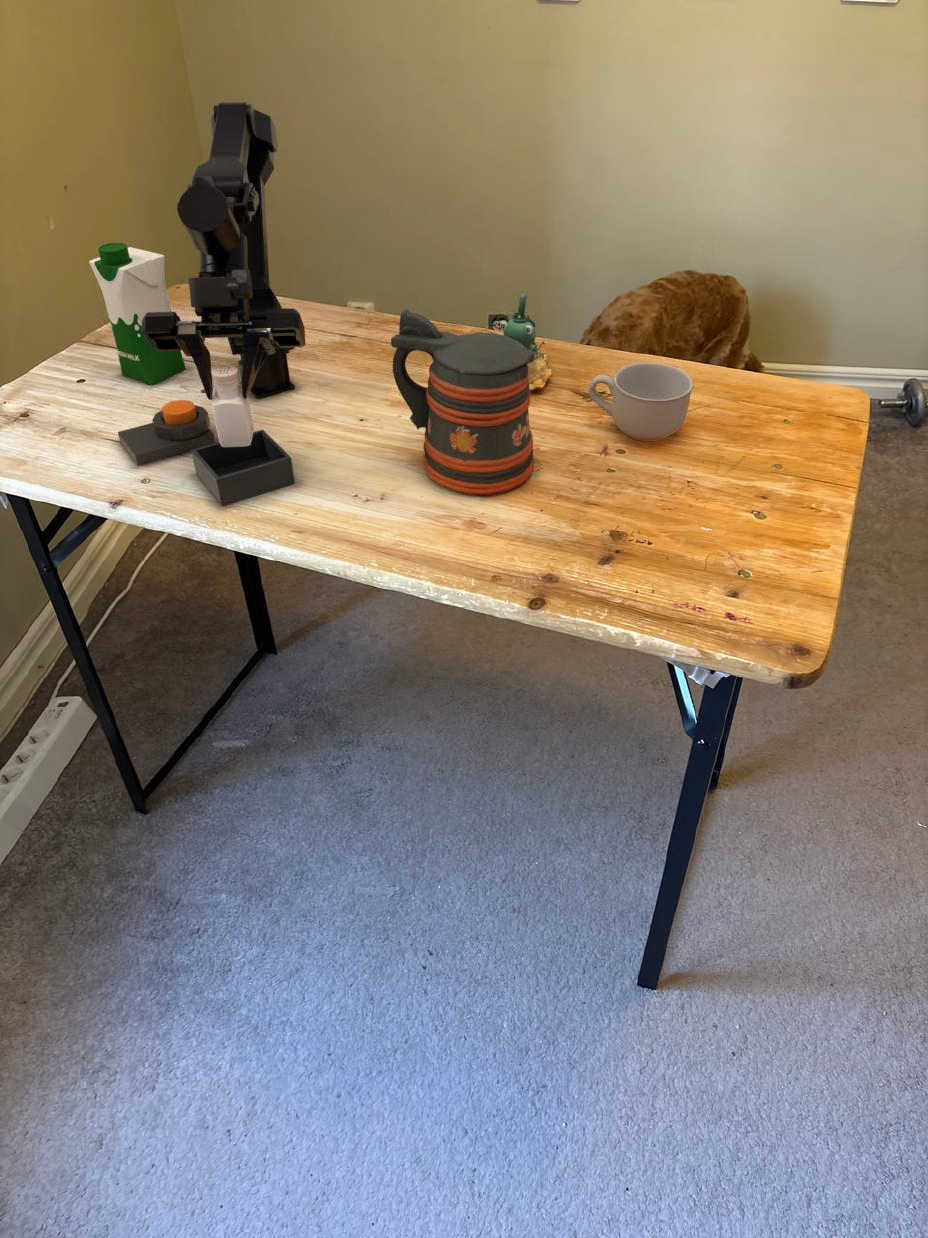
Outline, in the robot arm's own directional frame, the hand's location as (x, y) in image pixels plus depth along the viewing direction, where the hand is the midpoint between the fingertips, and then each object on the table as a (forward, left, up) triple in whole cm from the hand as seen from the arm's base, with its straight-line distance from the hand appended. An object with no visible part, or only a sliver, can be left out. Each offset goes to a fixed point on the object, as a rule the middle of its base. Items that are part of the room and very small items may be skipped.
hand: (227, 398), depth 110 cm
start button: (+2, -16, -9) cm, 19 cm away
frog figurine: (-48, -5, -12) cm, 50 cm away
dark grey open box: (-1, -1, -12) cm, 12 cm away
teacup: (-52, +17, -12) cm, 56 cm away
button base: (+5, -16, -12) cm, 21 cm away
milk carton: (-1, -40, -12) cm, 42 cm away
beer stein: (-26, +12, -12) cm, 32 cm away
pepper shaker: (-1, -1, -7) cm, 7 cm away
